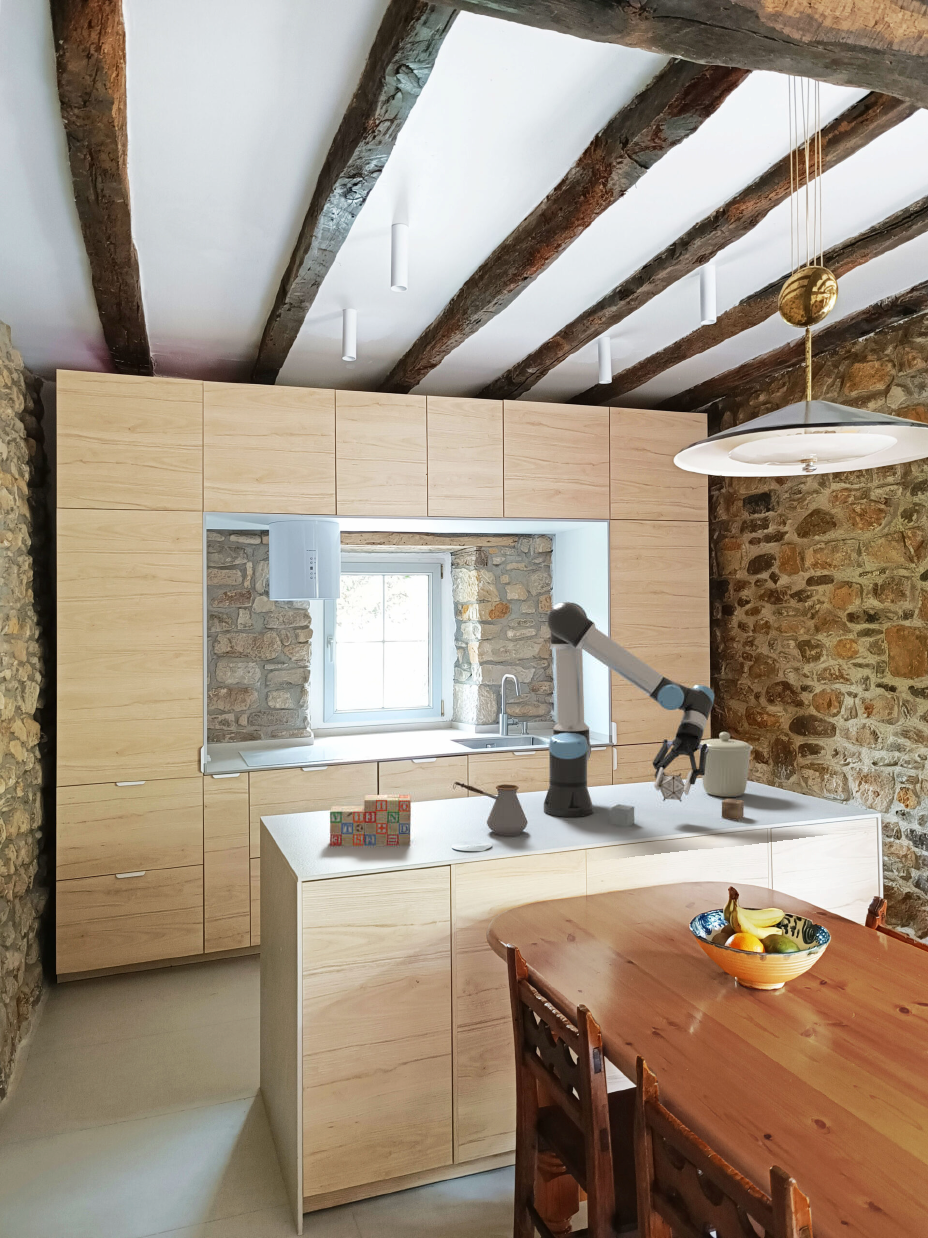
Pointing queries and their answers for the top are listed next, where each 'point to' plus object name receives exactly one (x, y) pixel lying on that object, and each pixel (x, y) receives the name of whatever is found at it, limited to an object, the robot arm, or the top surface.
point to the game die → (672, 787)
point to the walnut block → (733, 809)
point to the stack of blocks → (372, 822)
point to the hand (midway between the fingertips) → (670, 790)
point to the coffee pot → (504, 810)
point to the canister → (726, 766)
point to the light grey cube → (622, 815)
